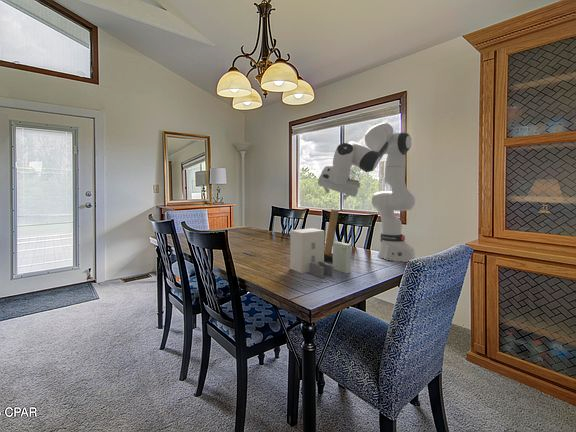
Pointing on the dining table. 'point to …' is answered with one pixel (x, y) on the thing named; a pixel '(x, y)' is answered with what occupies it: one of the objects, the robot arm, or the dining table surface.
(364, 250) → the dining table surface
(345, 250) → the white upright block
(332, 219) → the hammer
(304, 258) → the hinge cabinet
